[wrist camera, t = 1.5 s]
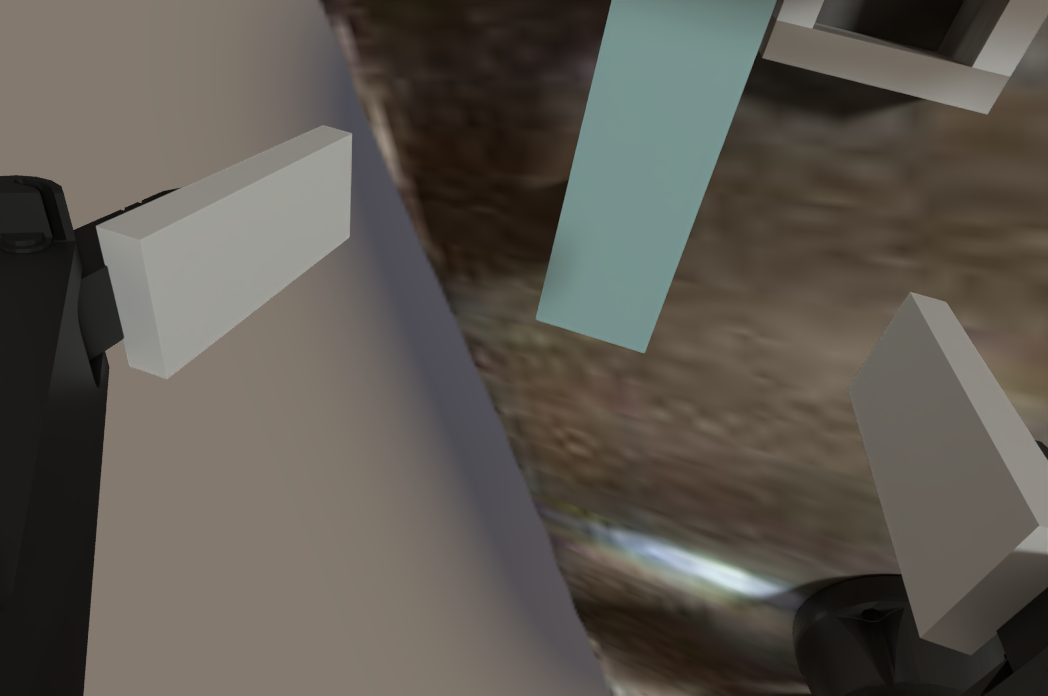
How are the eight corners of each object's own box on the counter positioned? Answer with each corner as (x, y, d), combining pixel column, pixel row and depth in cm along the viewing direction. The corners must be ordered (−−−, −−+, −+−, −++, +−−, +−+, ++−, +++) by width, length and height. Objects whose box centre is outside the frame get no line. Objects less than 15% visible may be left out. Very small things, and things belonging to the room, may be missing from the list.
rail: (665, 240, 37) (644, 353, 27) (587, 218, 38) (535, 319, 27) (776, -73, 28) (810, -90, 18) (670, -97, 29) (642, -127, 18)
